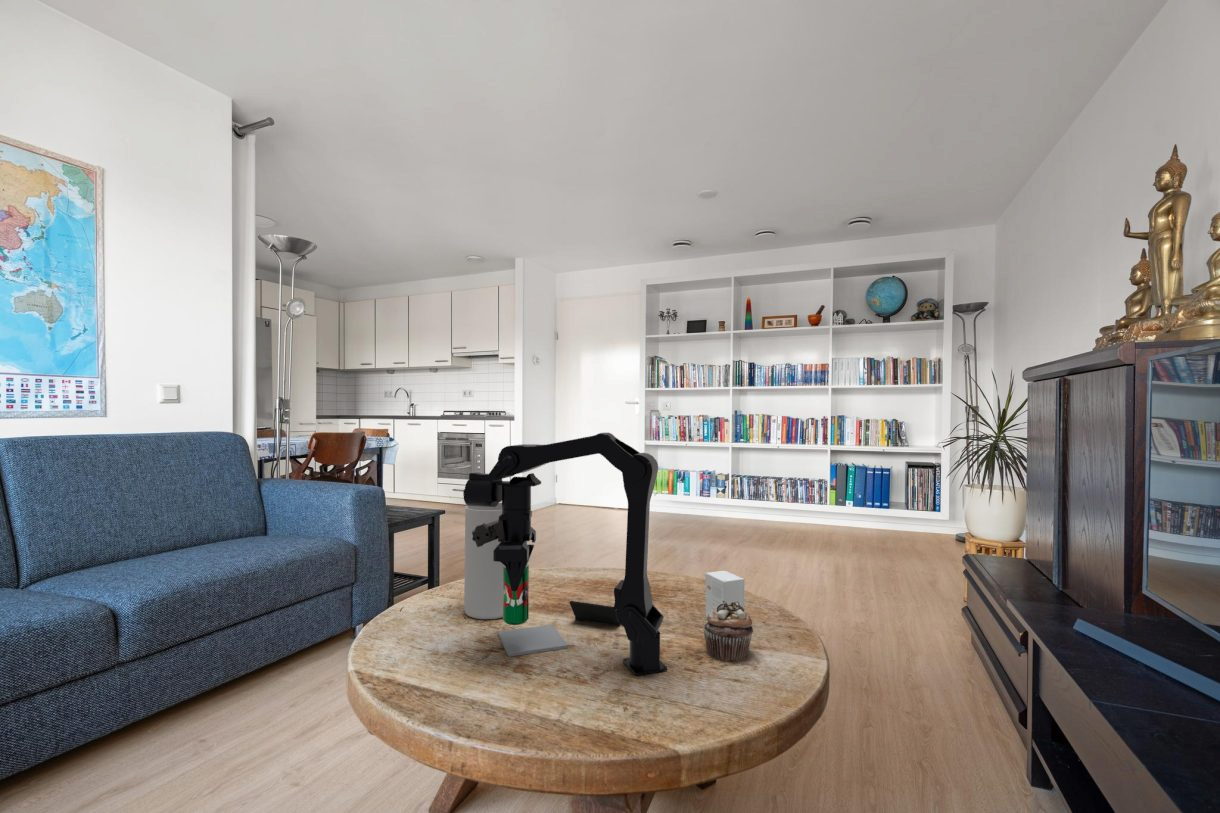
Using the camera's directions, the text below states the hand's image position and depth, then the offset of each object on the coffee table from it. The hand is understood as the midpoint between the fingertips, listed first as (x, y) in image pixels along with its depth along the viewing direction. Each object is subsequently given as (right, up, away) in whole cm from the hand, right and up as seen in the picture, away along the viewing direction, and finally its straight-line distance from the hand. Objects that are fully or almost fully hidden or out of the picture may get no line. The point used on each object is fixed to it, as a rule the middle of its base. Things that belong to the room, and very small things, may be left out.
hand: (516, 586), depth 112 cm
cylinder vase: (-10, -13, +23) cm, 28 cm away
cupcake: (+42, -13, 0) cm, 44 cm away
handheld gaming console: (+16, -14, +17) cm, 27 cm away
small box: (+45, -14, +17) cm, 50 cm away
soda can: (0, -7, 0) cm, 7 cm away
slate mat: (+2, -13, +5) cm, 14 cm away
